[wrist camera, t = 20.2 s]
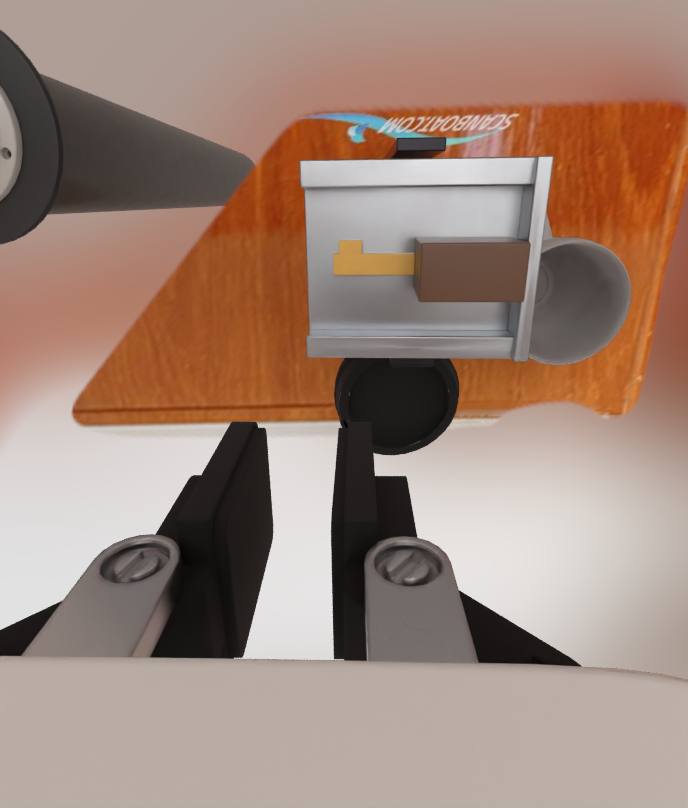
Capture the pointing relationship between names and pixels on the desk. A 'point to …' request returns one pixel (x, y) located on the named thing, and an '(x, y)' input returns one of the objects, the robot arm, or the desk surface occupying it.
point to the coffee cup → (397, 401)
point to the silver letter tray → (395, 233)
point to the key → (448, 267)
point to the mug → (577, 300)
